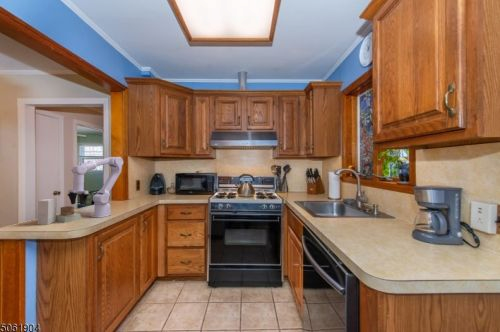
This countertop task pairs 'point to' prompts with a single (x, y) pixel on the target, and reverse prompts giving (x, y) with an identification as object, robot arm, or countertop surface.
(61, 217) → the sage block
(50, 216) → the skincare box
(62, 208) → the walnut cube
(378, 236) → the countertop surface
